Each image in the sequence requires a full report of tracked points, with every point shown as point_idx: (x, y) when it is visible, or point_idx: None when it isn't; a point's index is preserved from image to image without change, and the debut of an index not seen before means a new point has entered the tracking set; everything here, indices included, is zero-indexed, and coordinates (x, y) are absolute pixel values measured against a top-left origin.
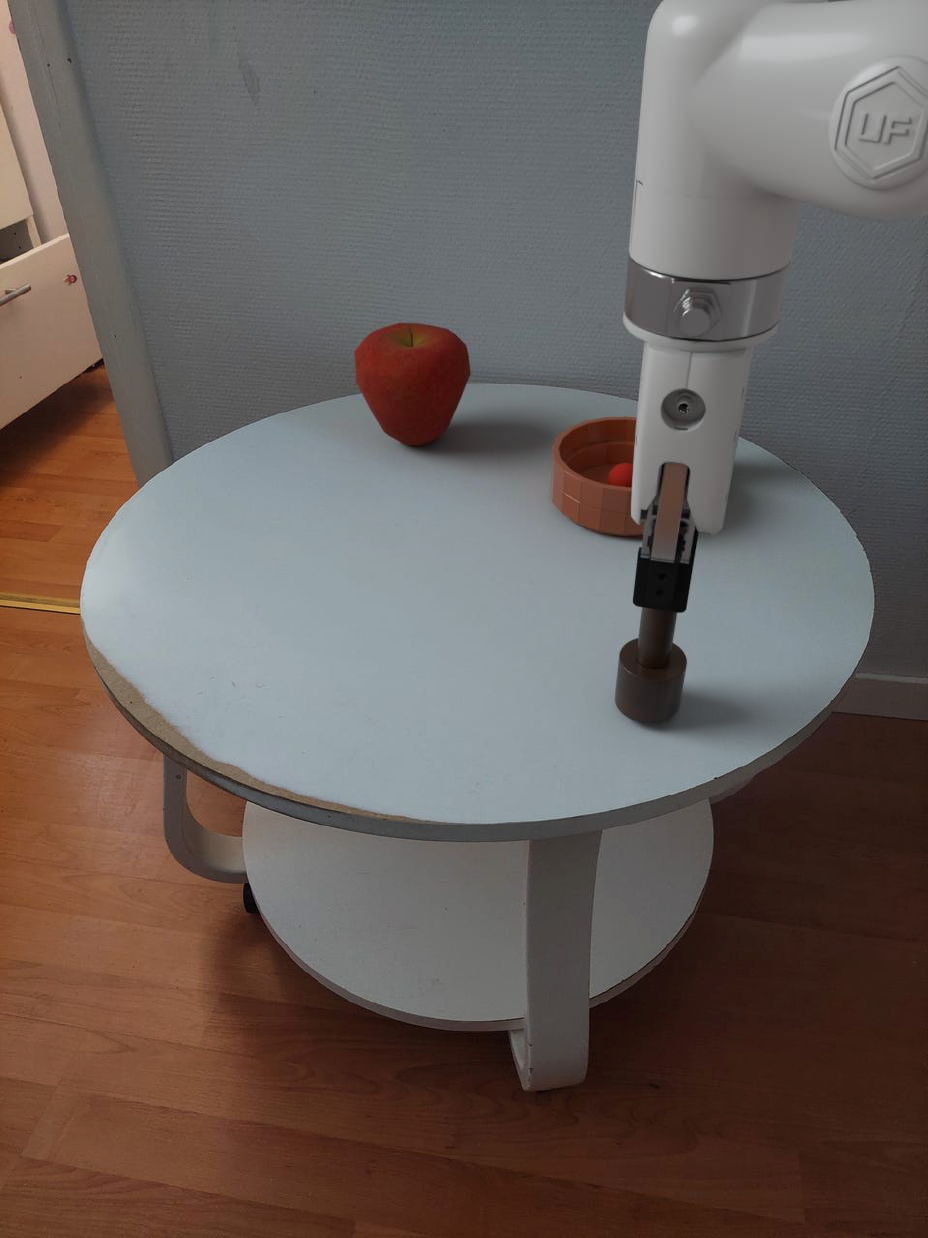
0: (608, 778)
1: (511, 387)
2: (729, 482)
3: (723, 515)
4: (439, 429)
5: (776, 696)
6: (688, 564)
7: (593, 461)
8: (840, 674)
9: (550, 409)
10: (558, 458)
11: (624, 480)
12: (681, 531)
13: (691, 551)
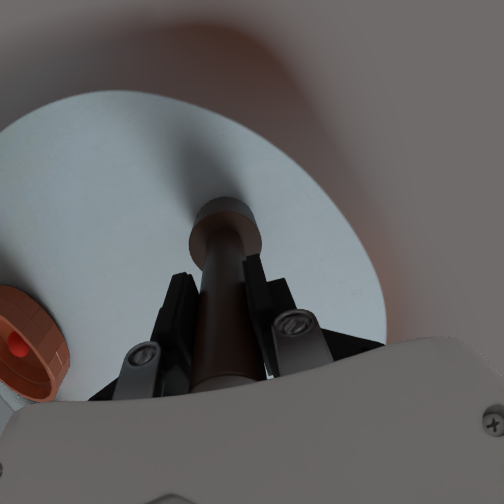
0: (316, 219)
1: (17, 410)
2: (483, 473)
3: (478, 370)
4: None
5: (148, 127)
6: (303, 309)
7: (20, 363)
8: (95, 94)
9: (10, 390)
10: (50, 397)
11: (21, 345)
12: (254, 368)
13: (184, 308)
